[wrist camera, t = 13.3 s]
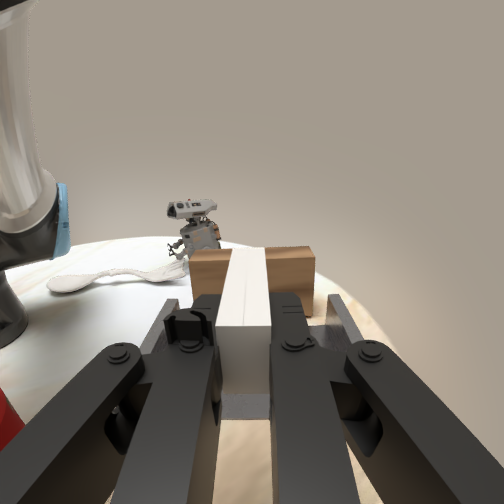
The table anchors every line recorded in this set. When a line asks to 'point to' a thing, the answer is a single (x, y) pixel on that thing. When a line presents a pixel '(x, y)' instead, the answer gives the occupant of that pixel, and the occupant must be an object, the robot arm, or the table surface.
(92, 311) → the table surface
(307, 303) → the slab
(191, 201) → the figurine
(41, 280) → the table surface
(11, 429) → the canned food
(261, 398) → the chute
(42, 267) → the table surface
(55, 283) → the white elongated piece
